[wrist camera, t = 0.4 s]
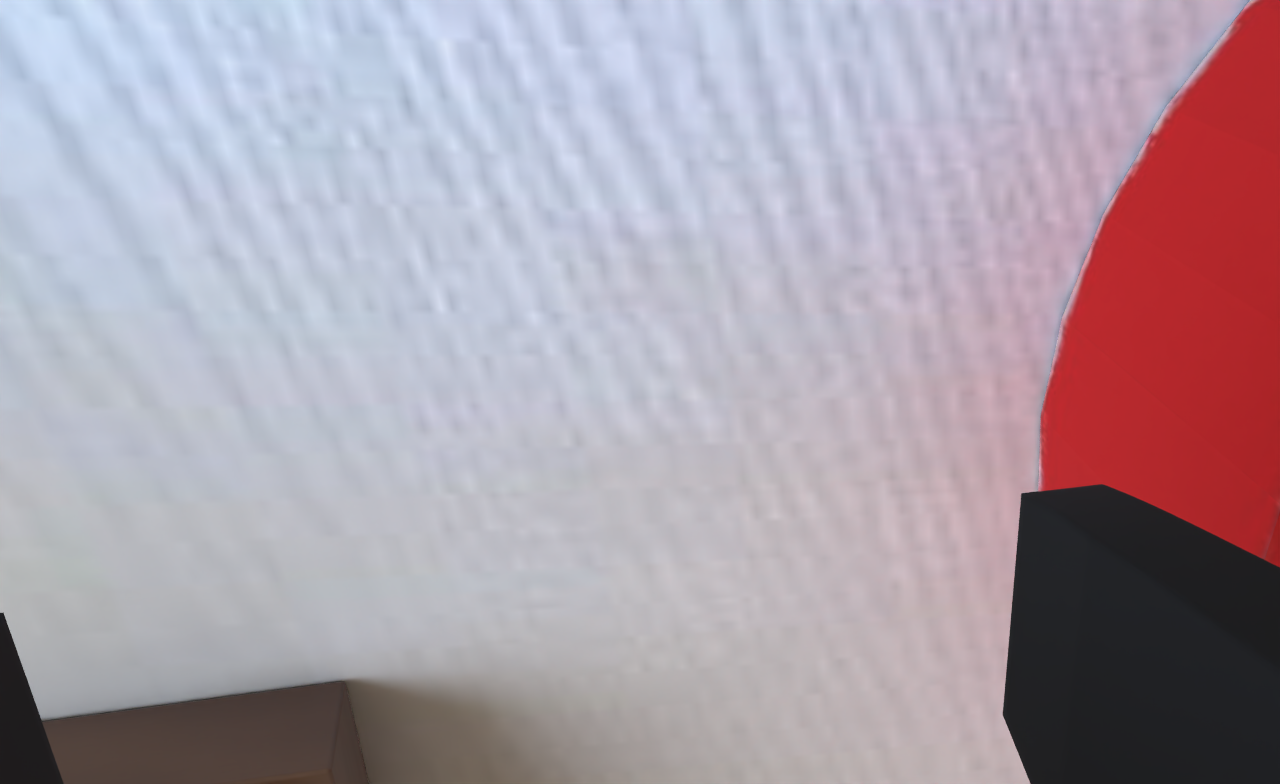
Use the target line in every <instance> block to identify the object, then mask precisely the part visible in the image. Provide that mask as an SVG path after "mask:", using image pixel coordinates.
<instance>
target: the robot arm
mask: <svg viewBox="0 0 1280 784" xmlns="http://www.w3.org/2000/svg"><path fill="white" fill-rule="evenodd" d="M1003 716H1004V719H1005V721H1006V724H1007V726H1008V729H1009V731H1010V734H1011V736H1012V739H1013V741H1014V744H1015V746H1016V748H1017V751H1018V753H1019V756H1020V758H1021V761H1022V763H1023V766H1024V768H1025V771H1026V773H1027V776H1028V778H1029V781H1030V783H1031V784H1280V567H1278V566H1276V565H1274V564H1272V563H1270V562H1268V561H1266V560H1264V559H1262V558H1260V557H1258V556H1256V555H1254V554H1252V553H1250V552H1248V551H1246V550H1244V549H1242V548H1240V547H1238V546H1236V545H1234V544H1232V543H1230V542H1228V541H1226V540H1224V539H1222V538H1220V537H1218V536H1216V535H1214V534H1212V533H1210V532H1208V531H1206V530H1204V529H1202V528H1200V527H1197V526H1195V525H1193V524H1191V523H1189V522H1187V521H1185V520H1183V519H1181V518H1179V517H1177V516H1175V515H1173V514H1171V513H1169V512H1166V511H1164V510H1162V509H1160V508H1158V507H1156V506H1154V505H1151V504H1149V503H1147V502H1145V501H1143V500H1140V499H1138V498H1136V497H1133V496H1131V495H1129V494H1126V493H1124V492H1121V491H1119V490H1116V489H1114V488H1111V487H1109V486H1106V485H1103V484H1098V485H1090V486H1081V487H1073V488H1064V489H1056V490H1047V491H1039V492H1030V493H1022V495H1021V507H1020V518H1019V530H1018V542H1017V554H1016V566H1015V577H1014V589H1013V601H1012V613H1011V625H1010V636H1009V648H1008V660H1007V672H1006V684H1005V695H1004V707H1003ZM0 784H64V783H63V780H62V777H61V774H60V772H59V769H58V766H57V763H56V760H55V757H54V755H53V752H52V749H51V746H50V743H49V741H48V738H47V735H46V732H45V729H44V726H43V724H42V721H41V718H40V715H39V712H38V709H37V707H36V704H35V701H34V698H33V695H32V692H31V690H30V687H29V684H28V681H27V678H26V675H25V673H24V670H23V667H22V664H21V661H20V659H19V656H18V653H17V650H16V647H15V644H14V642H13V639H12V636H11V633H10V630H9V627H8V625H7V622H6V619H5V616H4V613H0Z"/></svg>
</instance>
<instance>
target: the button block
mask: <svg viewBox="0 0 1280 784" xmlns="http://www.w3.org/2000/svg"><path fill="white" fill-rule="evenodd" d="M42 724H43V726H44V729H45V732H46V735H47V738H48V741H49V743H50V746H51V749H52V752H53V755H54V757H55V760H56V763H57V766H58V769H59V772H60V774H61V777H62V780H63V783H64V784H369V782H368V777H367V773H366V769H365V764H364V760H363V756H362V751H361V747H360V743H359V738H358V734H357V730H356V725H355V721H354V717H353V712H352V708H351V704H350V699H349V695H348V691H347V686H346V684H345V682H343V681H339V682H332V683H325V684H317V685H310V686H302V687H295V688H287V689H280V690H273V691H265V692H258V693H250V694H243V695H235V696H228V697H221V698H213V699H206V700H198V701H191V702H183V703H176V704H169V705H161V706H154V707H146V708H139V709H131V710H124V711H117V712H109V713H102V714H94V715H87V716H79V717H72V718H65V719H57V720H50V721H42Z"/></svg>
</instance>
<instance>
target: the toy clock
mask: <svg viewBox="0 0 1280 784" xmlns="http://www.w3.org/2000/svg"><path fill="white" fill-rule="evenodd" d="M1098 484H1103V485H1106V486H1109V487H1111V488H1114V489H1116V490H1119V491H1121V492H1124V493H1126V494H1129V495H1131V496H1133V497H1136V498H1138V499H1140V500H1143V501H1145V502H1147V503H1149V504H1151V505H1154V506H1156V507H1158V508H1160V509H1162V510H1164V511H1166V512H1169V513H1171V514H1173V515H1175V516H1177V517H1179V518H1181V519H1183V520H1185V521H1187V522H1189V523H1191V524H1193V525H1195V526H1197V527H1200V528H1202V529H1204V530H1206V531H1208V532H1210V533H1212V534H1214V535H1216V536H1218V537H1220V538H1222V539H1224V540H1226V541H1228V542H1230V543H1232V544H1234V545H1236V546H1238V547H1240V548H1242V549H1244V550H1246V551H1248V552H1250V553H1252V554H1254V555H1256V556H1258V557H1260V558H1262V559H1264V560H1266V561H1268V562H1270V563H1272V564H1274V565H1276V566H1278V567H1280V0H1251V1H1250V2H1249V3H1248V4H1247V5H1246V6H1245V7H1244V9H1243V10H1242V11H1241V12H1240V14H1239V15H1238V16H1237V17H1236V19H1235V20H1234V21H1233V22H1232V24H1231V25H1230V26H1229V28H1228V29H1227V30H1226V31H1225V33H1224V34H1223V35H1222V36H1221V38H1220V39H1219V40H1218V41H1217V43H1216V44H1215V45H1214V47H1213V48H1212V49H1211V50H1210V52H1209V53H1208V54H1207V55H1206V57H1205V58H1204V59H1203V60H1202V62H1201V63H1200V64H1199V66H1198V67H1197V68H1196V69H1195V71H1194V72H1193V73H1192V74H1191V76H1190V77H1189V78H1188V79H1187V81H1186V82H1185V83H1184V84H1183V86H1182V87H1181V88H1180V90H1179V91H1178V92H1177V93H1176V95H1175V96H1174V97H1173V98H1172V100H1171V101H1170V102H1169V103H1168V105H1167V106H1166V107H1165V109H1164V111H1163V112H1162V114H1161V116H1160V118H1159V119H1158V121H1157V123H1156V124H1155V126H1154V128H1153V130H1152V131H1151V133H1150V135H1149V136H1148V138H1147V140H1146V142H1145V143H1144V145H1143V147H1142V148H1141V150H1140V152H1139V154H1138V155H1137V157H1136V159H1135V160H1134V162H1133V164H1132V166H1131V167H1130V169H1129V171H1128V172H1127V174H1126V176H1125V178H1124V179H1123V181H1122V183H1121V184H1120V186H1119V188H1118V190H1117V191H1116V193H1115V195H1114V196H1113V198H1112V200H1111V202H1110V203H1109V205H1108V207H1107V208H1106V210H1105V212H1104V214H1103V216H1102V219H1101V221H1100V224H1099V226H1098V229H1097V231H1096V234H1095V236H1094V239H1093V241H1092V244H1091V246H1090V249H1089V251H1088V254H1087V256H1086V259H1085V261H1084V264H1083V266H1082V269H1081V271H1080V274H1079V276H1078V279H1077V281H1076V284H1075V286H1074V289H1073V291H1072V294H1071V297H1070V299H1069V302H1068V304H1067V307H1066V309H1065V312H1064V314H1063V317H1062V321H1061V325H1060V330H1059V334H1058V339H1057V344H1056V348H1055V353H1054V357H1053V362H1052V366H1051V371H1050V376H1049V380H1048V385H1047V389H1046V394H1045V398H1044V403H1043V408H1042V412H1041V425H1040V456H1039V488H1038V492H1039V491H1047V490H1056V489H1064V488H1073V487H1081V486H1090V485H1098Z"/></svg>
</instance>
